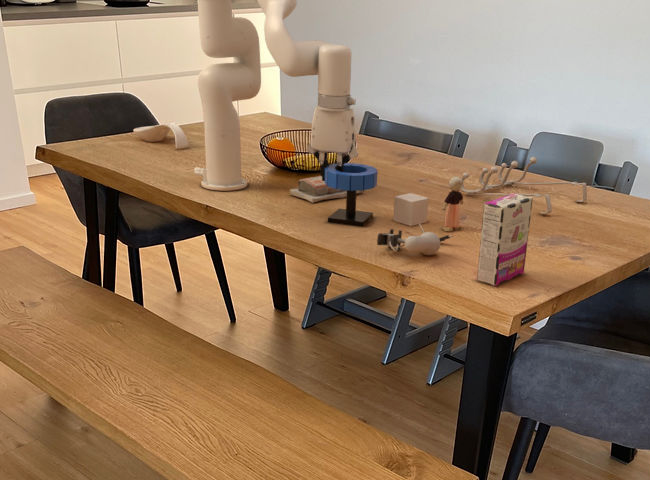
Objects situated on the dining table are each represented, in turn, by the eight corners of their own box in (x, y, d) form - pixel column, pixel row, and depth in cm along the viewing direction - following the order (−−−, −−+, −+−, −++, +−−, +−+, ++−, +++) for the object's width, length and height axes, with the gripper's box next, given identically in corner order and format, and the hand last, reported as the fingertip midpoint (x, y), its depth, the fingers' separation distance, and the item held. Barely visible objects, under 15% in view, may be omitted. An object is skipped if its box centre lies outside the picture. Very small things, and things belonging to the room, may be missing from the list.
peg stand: (327, 222, 201) (328, 176, 196) (338, 213, 208) (340, 168, 203) (362, 226, 199) (364, 180, 193) (372, 217, 206) (375, 172, 201)
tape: (318, 187, 196) (318, 171, 194) (334, 175, 206) (334, 161, 205) (368, 193, 193) (369, 177, 191) (381, 181, 204) (382, 166, 202)
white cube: (409, 216, 208) (411, 192, 206) (426, 222, 205) (428, 198, 202) (393, 220, 205) (394, 196, 202) (410, 226, 201) (412, 201, 198)
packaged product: (340, 168, 230) (364, 176, 224) (340, 186, 232) (363, 194, 226) (289, 177, 219) (312, 185, 213) (289, 195, 222) (312, 203, 215)
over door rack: (501, 182, 244) (505, 149, 239) (588, 203, 226) (594, 167, 222) (457, 194, 229) (460, 159, 225) (547, 217, 212) (552, 179, 208)
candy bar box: (504, 268, 176) (513, 192, 169) (524, 274, 173) (534, 197, 166) (474, 280, 169) (483, 201, 161) (494, 287, 166) (504, 207, 158)
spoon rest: (127, 139, 277) (125, 117, 273) (157, 135, 284) (155, 113, 281) (168, 151, 263) (167, 128, 259) (198, 146, 270) (197, 124, 267)
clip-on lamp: (415, 249, 194) (371, 250, 180) (418, 222, 193) (374, 221, 178) (458, 256, 188) (417, 257, 173) (462, 227, 186) (420, 227, 172)
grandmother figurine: (451, 233, 197) (456, 180, 191) (437, 230, 198) (442, 178, 192) (465, 226, 202) (471, 174, 196) (451, 223, 204) (456, 172, 198)
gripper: (371, 102, 193) (367, 181, 202) (306, 96, 197) (305, 173, 206) (362, 107, 187) (358, 188, 196) (295, 101, 191) (295, 180, 199)
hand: (331, 180), depth 201 cm, fingers closed on tape, 2 cm apart
